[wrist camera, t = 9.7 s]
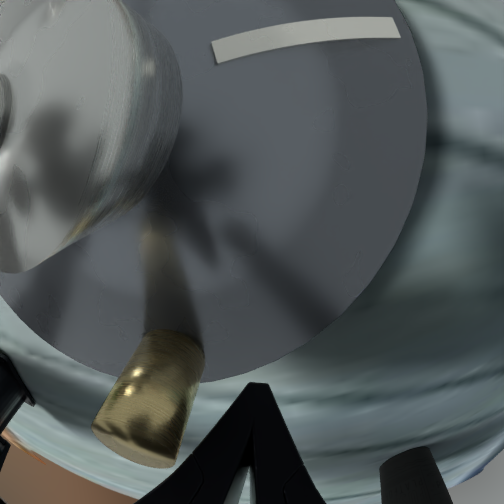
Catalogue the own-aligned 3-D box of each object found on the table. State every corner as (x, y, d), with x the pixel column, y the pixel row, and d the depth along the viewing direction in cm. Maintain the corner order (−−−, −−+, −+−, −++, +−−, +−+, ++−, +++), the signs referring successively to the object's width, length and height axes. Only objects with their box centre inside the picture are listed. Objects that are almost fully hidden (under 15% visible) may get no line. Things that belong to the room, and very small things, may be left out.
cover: (153, 255, 8) (64, 346, 4) (8, 203, 8) (-73, 238, 4) (217, 16, 5) (161, -83, 1) (42, 28, 5) (-40, 9, 1)
